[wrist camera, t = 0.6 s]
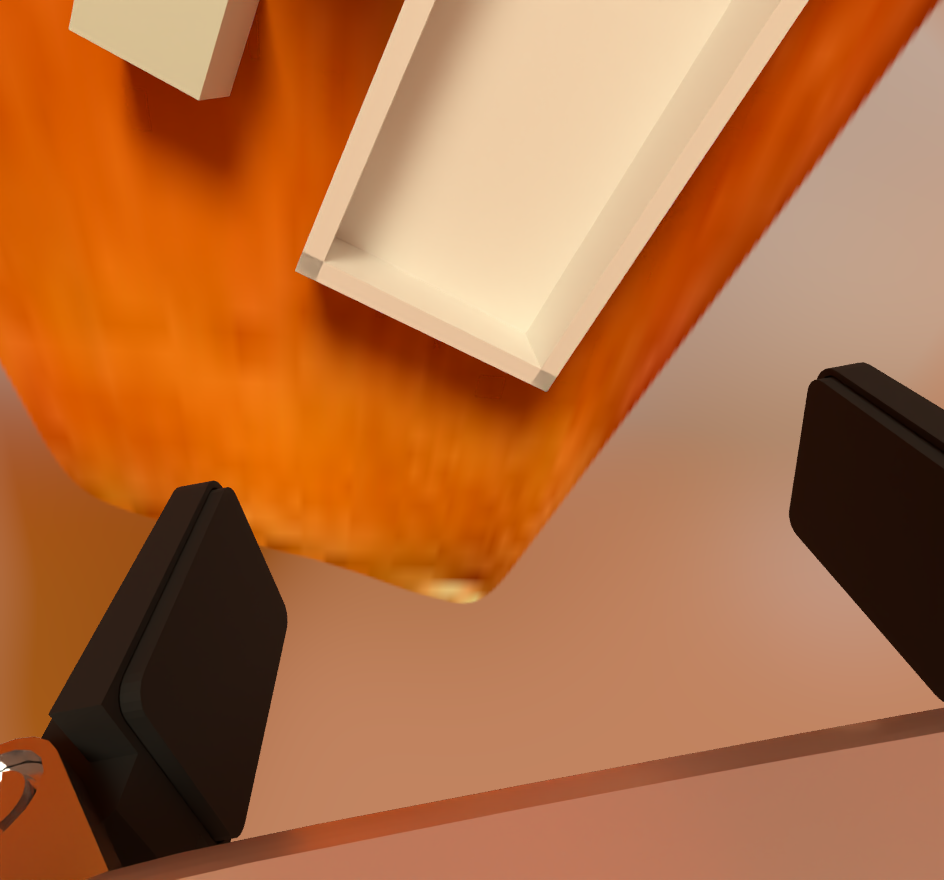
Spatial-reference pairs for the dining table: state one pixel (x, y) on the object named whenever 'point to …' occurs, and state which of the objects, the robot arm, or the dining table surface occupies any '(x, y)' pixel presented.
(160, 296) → the dining table surface
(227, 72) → the beige cube
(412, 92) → the tote
